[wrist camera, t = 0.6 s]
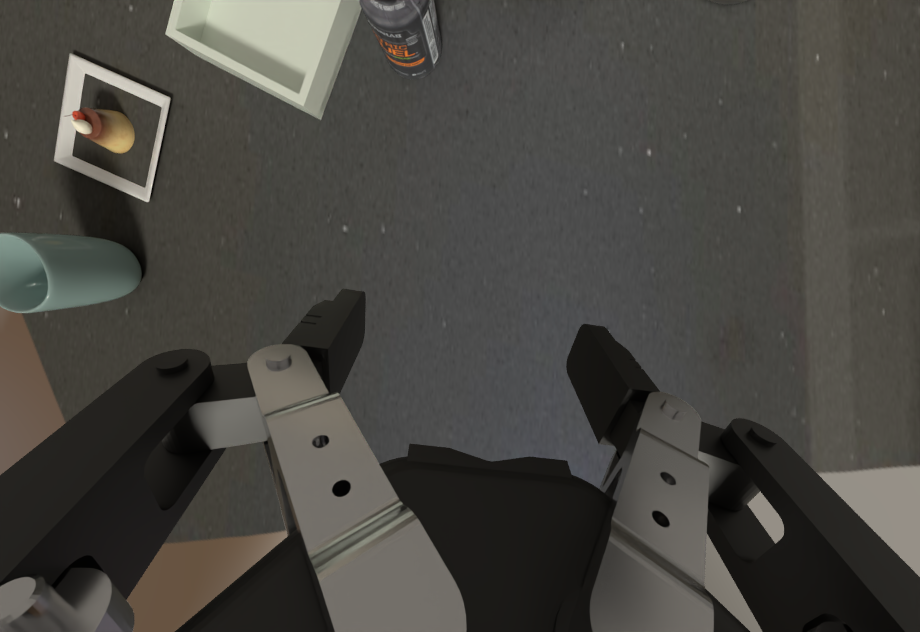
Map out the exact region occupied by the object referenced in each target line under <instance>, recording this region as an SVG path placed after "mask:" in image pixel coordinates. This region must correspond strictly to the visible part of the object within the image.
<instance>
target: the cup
mask: <svg viewBox="0 0 920 632" xmlns="http://www.w3.org/2000/svg"><path fill="white" fill-rule="evenodd" d="M141 278H142V271H141V267H140V264H139V261H138V259H137V258H136V256H135V255H134V254H133V253H132V252H131V251H130V250H129V249H128V248H126V247H125V246H123V245H121V244H119V243H117V242H114V241H111V240H107V239H102V238H97V237H90V236H81V235H68V234H49V233H23V232H4V233H0V307H2V308H4V309H6V310H9V311H13V312H16V313H35V312H43V311H51V310H59V309H66V308H73V307H80V306H86V305H92V304H98V303H103V302H107V301H111V300H115V299H118V298H120V297H123V296H126V295H128V294H129V293H131V292H133V291H134V290H135V289H136V288H137V287H138V285H139V284H140V282H141Z"/></svg>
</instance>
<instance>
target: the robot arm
mask: <svg viewBox="0 0 920 632" xmlns="http://www.w3.org/2000/svg"><path fill="white" fill-rule="evenodd" d="M709 1H712V2H714V3H717V4H724V5H731V4H739V3H742V2H745V1H748V0H709ZM365 301H366V297H365V292H362V291H355V290H348V289H342V290H341V291H340V293H339V294H338V295H337V297H336V298H335V299H334V301H328V300H324V301H323V302H321V303H319V304H317V305H315V306H313V307H312V308H311V309H310V311H309V312H308V313H307V314H306V316H305V317H304V318H303V319H302V320H301V323H299V324H298V325H297V326H296V327H295V328H294V330H293V331H292V332H291V333H290V334H289V336H288V337H287V338H286V339H285V340H284V342H283V343H282V344H277V345H272V346H268V347H265V348H262V349H260V350H258V351H257V352H255V353H254V354H253V355H252V356H251V357H250V358H249V360H248V362H247V363H241V364H229V365H216V366H211V362H210V358H209V356H208V355H207V354H206V353H204V352H202V351H199V350H193V349H180V350H173V351H168V352H165V353H161V354H158V355H156V356H153V357H151V358H149V359H147V360H145V361H144V362H142V363H141V364H140V365H138V366H137V367H136V368H135V369H133V370H132V371H131V372H130V373H128V374H127V375H126V376H125V377H123V378H122V379H121V380H120V381H118V382H117V383H116V384H115V385H113V386H112V387H111V388H109V389H108V390H107V391H106V392H104V393H103V394H102V395H101V396H99V397H98V398H97V399H96V400H94V401H93V402H92V403H91V404H89V405H88V406H87V407H86V408H84V409H83V410H82V411H81V412H79V413H78V414H77V415H76V416H74V417H73V418H72V419H71V420H69V421H68V422H67V423H65V424H64V425H63V426H62V427H61V428H59V429H58V430H57V431H56V432H54V433H53V434H52V435H50V436H49V437H48V438H47V439H45V440H44V441H43V442H42V443H40V444H39V445H38V446H37V447H35V448H34V449H33V450H32V451H30V452H29V453H28V454H27V455H25V456H24V457H23V458H21V459H20V460H19V461H18V462H16V463H15V464H14V465H13V466H12V467H10V468H9V469H8V470H7V471H5V472H4V473H3V474H1V475H0V632H133V627H134V613H133V609H132V608H131V606H130V605H129V603H128V602H127V601H126V600H127V598H128V596H129V595H130V593H131V592H132V590H133V589H134V587H135V586H136V584H137V583H138V581H139V580H140V578H141V577H142V575H143V574H144V572H145V571H146V569H147V568H148V566H149V565H150V563H151V562H152V560H153V559H154V557H155V555H156V554H157V552H158V551H159V549H160V548H161V546H162V545H163V543H164V542H165V540H166V539H167V537H168V536H169V534H170V533H171V531H172V530H173V528H174V527H175V525H176V524H177V522H178V521H179V519H180V518H181V516H182V515H183V513H184V512H185V510H186V508H187V507H188V505H189V504H190V502H191V501H192V499H193V498H194V496H195V495H196V493H197V492H198V490H199V489H200V487H201V486H202V484H203V483H204V481H205V480H206V478H207V477H208V475H209V474H210V472H211V471H212V469H213V467H214V466H215V464H216V463H217V461H218V460H219V458H220V457H221V455H222V454H223V452H224V451H225V449H226V448H227V447H231V446H237V445H243V444H250V443H256V442H263V446H264V449H265V453H266V457H267V460H268V464H269V467H270V471H271V474H272V478H273V481H274V485H275V488H276V492H277V495H278V499H279V503H280V507H281V512H282V516H283V520H284V524H285V528H286V531H287V535H288V537H287V538H285V539H284V540H283V541H282V542H281V543H280V544H278V545H277V546H276V547H275V548H274V549H272V550H271V551H270V552H269V553H268V554H266V555H265V556H264V557H263V558H262V559H261V560H260V561H258V562H257V563H256V564H255V565H253V566H252V567H251V568H250V569H249V570H247V571H246V572H245V573H244V574H243V575H242V576H241V577H239V578H238V579H237V580H236V581H234V582H233V583H232V584H231V585H230V586H229V587H227V588H226V589H225V590H224V591H223V592H222V593H220V594H219V595H218V596H217V597H215V598H214V599H213V600H212V601H211V602H210V603H208V604H207V605H206V606H205V607H204V608H203V609H201V610H200V611H199V612H198V613H197V614H195V615H194V616H193V617H192V618H191V619H190V620H188V621H187V622H186V623H185V624H184V625H182V626H181V627H180V628H179V629H178V630H176V631H175V632H750V631H749V630H748V629H747V628H746V627H745V626H744V625H743V624H742V623H741V622H740V621H739V620H738V619H736V618H735V617H734V616H733V615H732V614H731V613H730V612H729V611H728V610H727V609H726V608H725V607H724V606H723V605H722V604H721V603H720V602H719V601H718V600H717V599H716V598H715V597H714V596H713V595H711V594H710V593H709V592H708V591H707V590H706V589H705V584H704V579H705V557H706V534H708V536H709V537H710V539H711V541H712V543H713V545H714V546H715V548H716V550H717V552H718V553H719V555H720V557H721V559H722V560H723V562H724V564H725V566H726V567H727V569H728V571H729V573H730V574H731V576H732V578H733V580H734V581H735V583H736V585H737V587H738V589H739V590H740V592H741V594H742V595H743V598H744V599H745V601H746V603H747V605H748V606H749V608H750V610H751V612H752V613H753V615H754V617H755V619H756V620H757V622H758V624H759V626H760V628H761V629H762V631H763V632H920V577H919V576H918V575H917V574H916V573H915V572H914V571H913V570H912V569H911V568H910V567H909V566H908V565H907V564H906V563H905V562H904V561H903V560H902V559H901V558H900V557H899V556H898V555H897V554H896V553H895V552H894V551H893V550H892V549H891V548H890V547H889V546H888V545H887V544H886V543H885V542H884V541H883V540H882V539H881V538H880V537H879V536H878V535H877V534H876V533H875V532H874V531H873V530H872V529H871V528H870V527H869V526H868V525H867V524H866V523H865V522H864V521H863V520H862V519H861V518H860V517H859V516H858V515H857V514H856V513H855V512H854V511H853V510H852V509H851V507H849V505H847V503H846V502H845V501H844V500H843V499H841V497H839V495H838V494H837V493H836V492H835V491H834V490H833V489H832V488H831V487H830V486H829V485H828V484H827V483H826V482H825V481H824V480H823V479H822V478H821V477H820V476H819V475H818V474H817V473H816V472H815V471H814V470H813V469H812V468H811V467H810V466H809V465H808V464H807V463H806V462H805V461H804V460H803V459H802V458H801V457H800V456H799V455H798V454H797V453H796V452H795V451H794V450H793V449H792V448H791V447H790V446H789V445H788V444H787V443H786V442H785V441H784V440H783V439H782V438H781V437H779V436H778V435H777V434H775V433H774V432H772V431H771V430H769V429H768V428H766V427H764V426H762V425H760V424H758V423H755V422H753V421H750V420H746V419H740V418H738V419H734V420H732V421H731V423H730V424H729V425H728V426H727V428H726V429H722V428H719V427H716V426H713V425H710V424H707V423H704V422H701V419H700V416H699V415H698V413H697V412H696V411H695V410H694V409H693V408H692V407H691V406H690V405H689V404H687V403H686V402H685V401H683V400H681V399H680V398H678V397H676V396H673V395H671V394H668V393H664V392H660V391H659V390H658V388H657V387H656V386H655V384H654V383H653V382H652V380H651V379H650V378H649V377H648V375H647V374H646V373H645V371H644V370H643V369H641V366H640V365H639V364H638V362H636V361H635V358H634V357H633V356H632V355H631V353H630V352H629V351H628V350H627V349H626V348H625V347H623V346H622V345H621V344H619V343H618V342H617V341H615V339H614V338H613V337H612V335H611V334H610V333H609V331H608V330H607V329H606V328H605V327H603V326H596V325H589V324H583V325H582V326H581V327H580V329H579V331H578V333H577V336H576V338H575V341H574V343H573V346H572V348H571V351H570V353H569V356H568V359H567V366H566V367H567V373H568V376H569V378H570V380H571V383H572V385H573V387H574V389H575V392H576V394H577V396H578V398H579V400H580V403H581V405H582V407H583V409H584V412H585V414H586V416H587V418H588V421H589V423H590V425H591V427H592V430H593V432H594V434H595V436H596V439H597V441H598V443H599V444H603V445H612V446H615V447H616V451H615V453H614V454H613V456H612V458H611V460H610V463H609V465H608V468H607V470H606V473H605V475H604V478H603V480H602V483H601V485H600V488H599V489H598V488H597V487H595V486H594V485H592V484H590V483H588V482H587V481H585V480H583V479H580V478H578V477H576V476H573V475H571V472H570V469H569V466H568V463H567V461H565V460H555V459H546V458H537V457H523V458H516V459H509V460H502V461H494V462H491V461H486V460H483V459H480V458H477V457H474V456H471V455H468V454H466V453H463V452H460V451H457V450H454V449H451V448H445V447H435V446H426V445H417V444H410V445H409V451H408V457H401V458H396V459H392V460H389V461H386V462H384V463H381V464H379V463H378V461H377V459H376V458H375V456H374V454H373V452H372V451H371V449H370V447H369V445H368V444H367V442H366V440H365V438H364V437H363V435H362V433H361V431H360V430H359V428H358V426H357V424H356V423H355V421H354V419H353V417H352V416H351V414H350V412H349V410H348V408H347V407H346V405H345V403H344V401H343V400H342V398H341V396H340V395H339V394H340V392H341V390H342V388H343V385H344V383H345V381H346V379H347V377H348V375H349V372H350V370H351V368H352V366H353V364H354V362H355V359H356V357H357V355H358V353H359V351H360V348H361V346H362V343H363V339H364V334H365ZM760 491H761V493H762V494H763V495H764V496H765V498H766V499H767V500H768V501H769V503H770V504H771V505H772V506H773V508H774V509H775V510H776V512H777V513H778V514H779V516H780V517H781V519H782V521H783V524H784V536H783V537H782V539H781V540H780V541H778V542H777V543H776V544H775V543H774V541H773V540H772V539H771V537H770V536H769V535H768V533H767V532H766V530H765V529H764V527H763V526H762V525H761V523H760V522H759V520H758V519H757V518H756V516H755V515H754V513H753V512H752V511H751V509H750V508H749V507H748V505H747V504H748V503H749V501H751V500H752V498H754V497H755V496H756V495H757V494H758V493H759V492H760Z"/></svg>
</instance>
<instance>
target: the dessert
mask: <svg viewBox="0 0 920 632" xmlns="http://www.w3.org/2000/svg"><path fill="white" fill-rule="evenodd" d="M85 74H89V75H91V76H93V77H95V78H98V79H100V80H102V81H104V82H107V83H109V84H111V85H113V86H116V87H118V88H120V89H122V90H125V91H127V92H129V93H132V94H134V95H136V96H138V97H141V98H143V99H145V100H147V101H150V102H152V103H154V104H156V105H159V106H161V107H162V111H161V115H160V120H159V125H158V130H157V135H156V140H155V144H154V149H153V154H152V159H151V164H150V169H149V173H148V178H147V183H146V187H145V188H143V187H141V186H139V185H137V184H134V183H132V182H130V181H128V180H125V179H123V178H121V177H119V176H116V175H114V174H112V173H110V172H107V171H105V170H103V169H100V168H98V167H96V166H94V165H91V164H89V163H87V162H85V161H82V160H80V159H78V158H76V157H73V156H72V152H73V146H74V139H75V133H76V130H77V131H78V132H80V133H81V134H82V135H83V136H84V137H86V138H88V139H90V140H92V141H94V142H95V143H97V144H99V145H101V146H103V147H105V148H107V149H108V150H110V151H112V152H115V153H124V152H126V151H128V150H129V149H130V148H131V147H132V145H133V142H134V129H133V126H132V124H131V122H130V121H129V119H128V118H127V117H126V116H125V115H124V114H122V113H120V112H118V111H113V110H103V109H95V108H86V107H85V108H81V109H79V107H80V101H81V94H82V88H83V81H84V75H85ZM170 100H171V99H170V97H168V96H166V95H164V94H161V93H159V92H157V91H155V90H152V89H150V88H148V87H146V86H143V85H141V84H139V83H137V82H134V81H132V80H130V79H128V78H125V77H123V76H121V75H119V74H116V73H114V72H112V71H110V70H107V69H105V68H103V67H101V66H98V65H96V64H94V63H92V62H89V61H87V60H85V59H83V58H80V57H78V56H76V55H74V54H71V53H70V54H69V60H68V67H67V74H66V81H65V87H64V94H63V101H62V108H61V115H60V122H59V129H58V135H57V142H56V149H55V156H54V161H55V162H57V163H59V164H62V165H64V166H66V167H68V168H71V169H73V170H75V171H78V172H80V173H82V174H84V175H87V176H89V177H91V178H93V179H96V180H98V181H100V182H102V183H105V184H107V185H109V186H112V187H114V188H116V189H118V190H121V191H123V192H125V193H127V194H130V195H132V196H134V197H137V198H139V199H141V200H143V201H146V202H149V200H150V195H151V190H152V185H153V181H154V176H155V171H156V166H157V162H158V157H159V152H160V148H161V143H162V138H163V133H164V129H165V124H166V119H167V114H168V110H169V105H170Z"/></svg>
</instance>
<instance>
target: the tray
mask: <svg viewBox="0 0 920 632" xmlns="http://www.w3.org/2000/svg"><path fill="white" fill-rule="evenodd" d="M361 9H362V8H361V6H360V3H359V0H174V3H173V7H172V11H171V15H170V19H169V23H168V27H167V30H166V35H167V36H169V37H170V38H172V39H173V40H175V41H176V42H177V43H179V44H180V45H182V46H183V47H185V48H186V49H188V50H189V51H191V52H192V53H193V54H195V55H196V56H198V57H200V58H202V59H204V60H206V61H208V62H210V63H212V64H214V65H216V66H218V67H219V68H221V69H223V70H225V71H227V72H229V73H231V74H233V75H235V76H237V77H239V78H241V79H242V80H244V81H246V82H248V83H250V84H252V85H254V86H256V87H258V88H260V89H262V90H264V91H265V92H267V93H269V94H271V95H273V96H275V97H277V98H279V99H281V100H283V101H285V102H287V103H288V104H290V105H292V106H294V107H296V108H298V109H300V110H302V111H304V112H306V113H308V114H310V115H311V116H313V117H315V118H317V119H319V120H321V118H322V116H323V113H324V110H325V107H326V105H327V102H328V99H329V97H330V94H331V91H332V88H333V86H334V83H335V80H336V77H337V75H338V72H339V69H340V67H341V64H342V61H343V58H344V56H345V53H346V50H347V47H348V45H349V42H350V39H351V37H352V34H353V31H354V28H355V26H356V23H357V20H358V17H359V15H360V12H361Z"/></svg>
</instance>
